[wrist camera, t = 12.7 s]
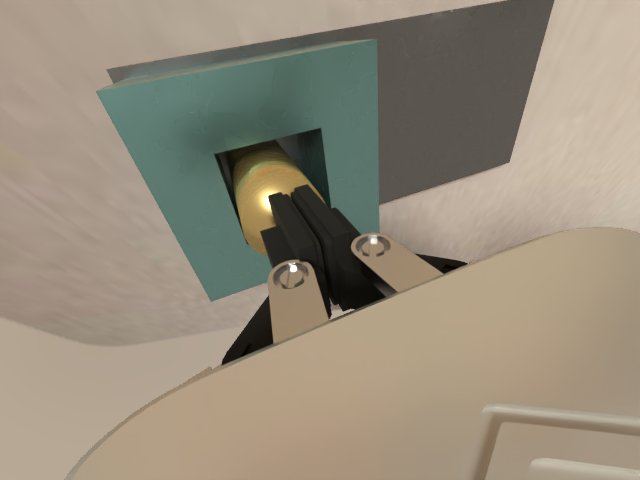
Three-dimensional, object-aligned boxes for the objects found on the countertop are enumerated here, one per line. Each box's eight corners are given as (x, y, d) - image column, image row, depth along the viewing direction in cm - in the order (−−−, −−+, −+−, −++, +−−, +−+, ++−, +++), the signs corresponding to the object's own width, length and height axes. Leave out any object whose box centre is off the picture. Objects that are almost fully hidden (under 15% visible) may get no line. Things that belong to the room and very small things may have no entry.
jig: (542, -6, 20) (649, -23, 15) (500, 159, 27) (564, 181, 22) (111, 68, 14) (70, 77, 9) (203, 253, 21) (205, 310, 16)
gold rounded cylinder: (278, 126, 17) (322, 171, 11) (288, 180, 19) (330, 244, 13) (219, 138, 17) (230, 194, 10) (236, 193, 19) (254, 267, 12)
